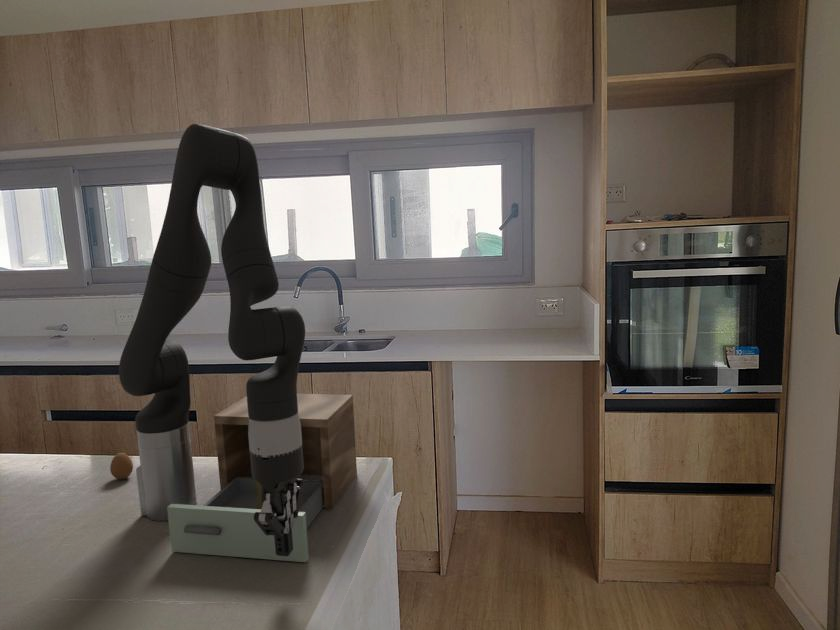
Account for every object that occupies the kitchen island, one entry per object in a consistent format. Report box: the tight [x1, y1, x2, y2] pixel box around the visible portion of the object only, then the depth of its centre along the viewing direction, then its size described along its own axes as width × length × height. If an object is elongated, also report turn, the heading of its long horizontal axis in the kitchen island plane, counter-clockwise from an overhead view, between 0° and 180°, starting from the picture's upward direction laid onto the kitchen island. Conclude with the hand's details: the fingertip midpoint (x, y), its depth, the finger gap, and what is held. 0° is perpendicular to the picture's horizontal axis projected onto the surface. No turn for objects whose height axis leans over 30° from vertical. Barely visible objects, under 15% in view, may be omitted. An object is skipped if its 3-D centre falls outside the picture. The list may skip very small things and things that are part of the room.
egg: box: [109, 452, 134, 480], centre depth 129 cm, size 4×4×6 cm
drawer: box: [167, 476, 325, 563], centre depth 106 cm, size 24×22×8 cm
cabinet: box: [213, 393, 358, 511], centre depth 121 cm, size 23×16×18 cm
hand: (284, 553), depth 88 cm, fingers closed
